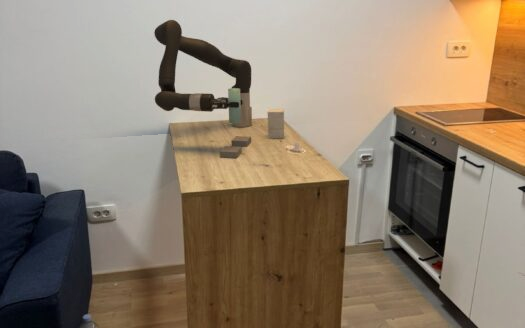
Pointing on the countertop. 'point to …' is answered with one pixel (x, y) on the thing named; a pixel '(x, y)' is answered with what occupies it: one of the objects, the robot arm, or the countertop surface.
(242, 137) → the rectangular blocks
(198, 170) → the countertop surface
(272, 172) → the countertop surface
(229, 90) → the teal green tall block
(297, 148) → the teacup and saucer
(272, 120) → the supplement box
